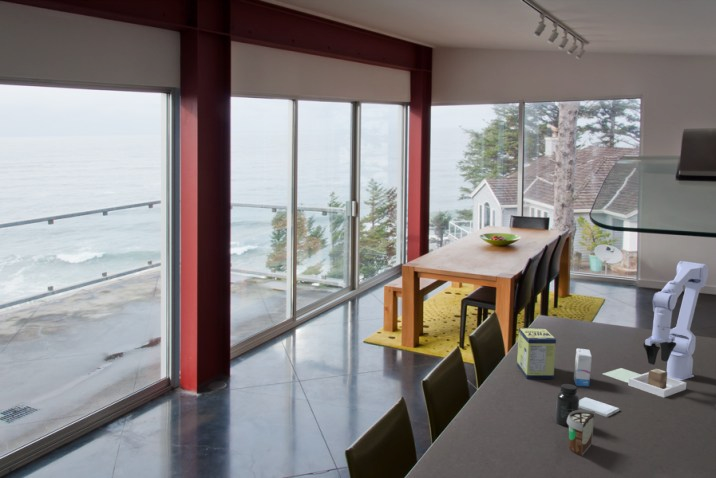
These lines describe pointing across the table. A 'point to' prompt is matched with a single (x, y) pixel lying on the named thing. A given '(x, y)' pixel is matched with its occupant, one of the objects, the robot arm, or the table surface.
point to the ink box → (582, 367)
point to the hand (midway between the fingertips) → (658, 362)
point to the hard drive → (597, 407)
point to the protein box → (536, 353)
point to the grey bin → (671, 387)
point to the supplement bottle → (566, 403)
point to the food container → (580, 430)
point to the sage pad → (621, 374)
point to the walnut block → (657, 378)
